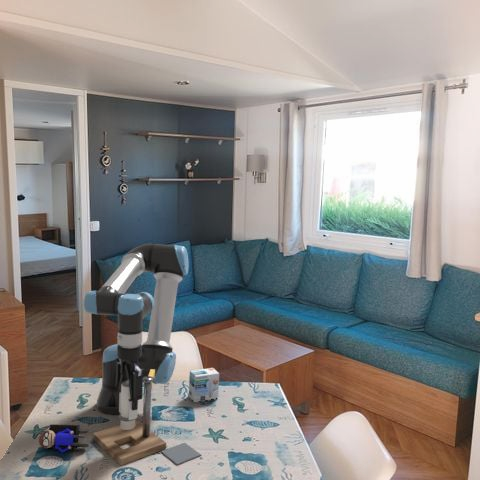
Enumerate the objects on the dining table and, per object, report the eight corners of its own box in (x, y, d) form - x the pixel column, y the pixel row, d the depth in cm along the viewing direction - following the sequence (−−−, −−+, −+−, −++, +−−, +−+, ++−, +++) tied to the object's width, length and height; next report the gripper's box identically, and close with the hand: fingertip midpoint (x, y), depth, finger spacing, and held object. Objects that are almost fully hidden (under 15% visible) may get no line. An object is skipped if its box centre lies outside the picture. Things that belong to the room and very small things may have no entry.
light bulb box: (194, 403, 191) (195, 376, 190) (187, 396, 197) (188, 370, 196) (218, 399, 196) (220, 373, 195) (211, 392, 202) (213, 367, 200)
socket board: (92, 439, 160) (93, 433, 160) (136, 425, 171) (136, 419, 171) (120, 465, 146) (121, 459, 146) (166, 448, 157) (166, 442, 157)
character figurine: (85, 456, 150) (36, 455, 150) (92, 442, 158) (45, 441, 157) (85, 433, 149) (35, 432, 148) (91, 420, 156) (44, 419, 156)
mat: (161, 452, 154) (161, 451, 154) (184, 443, 160) (184, 442, 160) (177, 465, 148) (177, 464, 148) (201, 455, 154) (201, 454, 154)
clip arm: (155, 377, 173) (156, 368, 173) (151, 392, 160) (152, 383, 160) (149, 377, 173) (149, 368, 173) (144, 392, 160) (144, 383, 160)
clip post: (138, 435, 160) (140, 377, 158) (147, 432, 163) (149, 375, 161) (143, 440, 158) (146, 381, 156) (153, 437, 160) (155, 378, 158)
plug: (116, 425, 156) (116, 381, 154) (131, 420, 159) (132, 377, 157) (124, 432, 152) (125, 387, 150) (139, 427, 155) (140, 383, 153)
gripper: (105, 338, 156) (103, 407, 159) (133, 355, 143) (131, 430, 146) (126, 334, 161) (124, 401, 164) (155, 350, 148) (153, 423, 151)
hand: (128, 414), depth 155 cm, fingers closed on plug, 5 cm apart
